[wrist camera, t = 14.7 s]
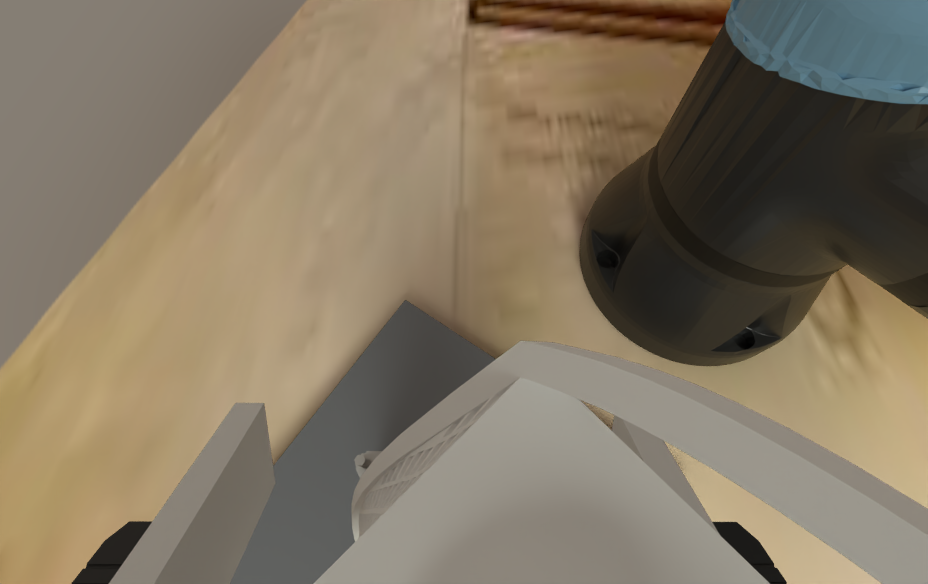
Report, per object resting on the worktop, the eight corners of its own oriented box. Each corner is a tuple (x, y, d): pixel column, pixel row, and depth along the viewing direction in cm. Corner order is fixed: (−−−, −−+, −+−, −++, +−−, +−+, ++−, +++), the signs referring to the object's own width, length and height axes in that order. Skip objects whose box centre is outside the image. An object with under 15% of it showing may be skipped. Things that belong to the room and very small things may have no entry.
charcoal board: (407, 308, 34) (405, 299, 32) (681, 489, 30) (692, 488, 28) (180, 596, 27) (166, 600, 26) (497, 882, 23) (500, 905, 22)
